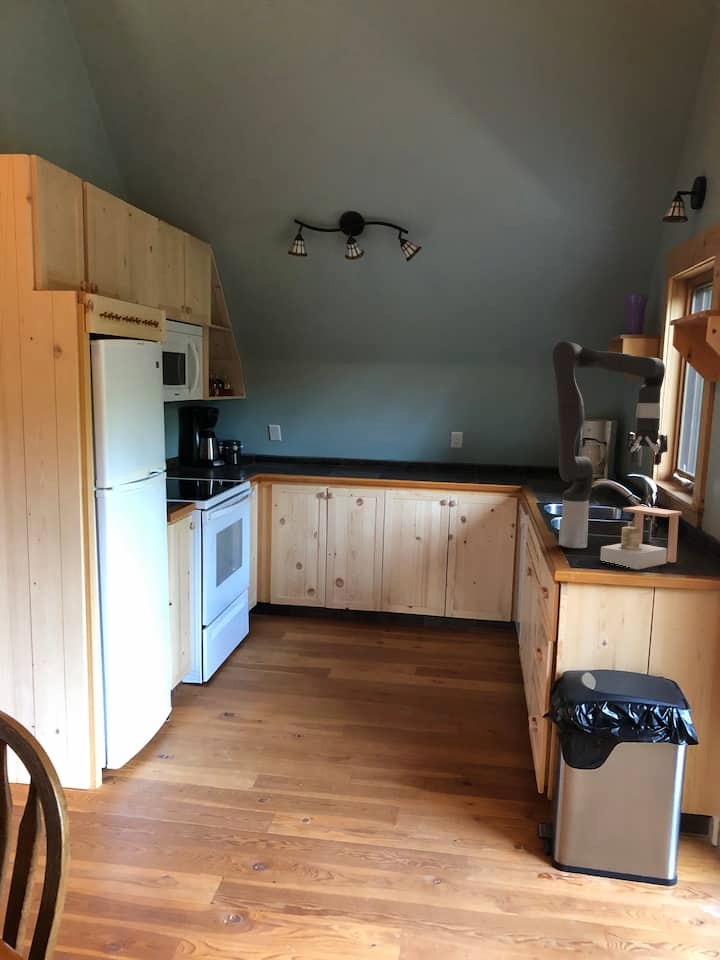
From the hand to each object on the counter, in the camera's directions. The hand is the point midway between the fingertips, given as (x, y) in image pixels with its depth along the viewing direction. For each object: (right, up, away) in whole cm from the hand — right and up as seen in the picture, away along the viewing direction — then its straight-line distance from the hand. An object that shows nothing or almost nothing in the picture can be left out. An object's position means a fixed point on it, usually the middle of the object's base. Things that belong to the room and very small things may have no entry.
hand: (645, 463), depth 252 cm
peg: (-9, -33, -9) cm, 35 cm away
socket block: (-7, -33, -8) cm, 35 cm away
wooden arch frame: (0, -32, -2) cm, 33 cm away
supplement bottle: (+10, -29, +30) cm, 43 cm away
